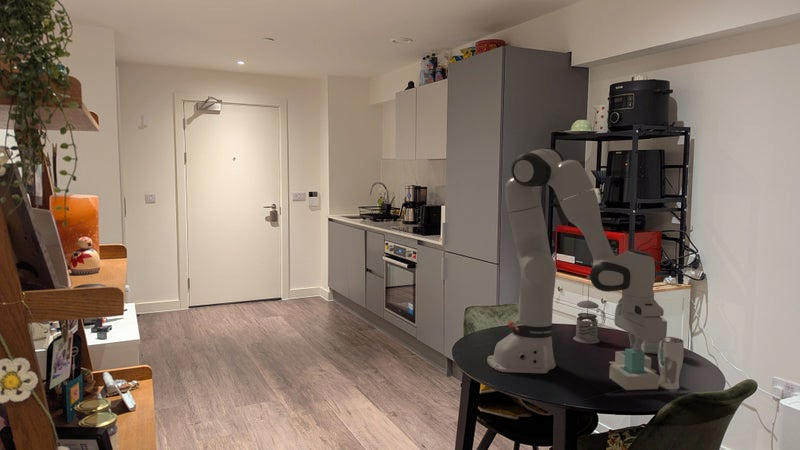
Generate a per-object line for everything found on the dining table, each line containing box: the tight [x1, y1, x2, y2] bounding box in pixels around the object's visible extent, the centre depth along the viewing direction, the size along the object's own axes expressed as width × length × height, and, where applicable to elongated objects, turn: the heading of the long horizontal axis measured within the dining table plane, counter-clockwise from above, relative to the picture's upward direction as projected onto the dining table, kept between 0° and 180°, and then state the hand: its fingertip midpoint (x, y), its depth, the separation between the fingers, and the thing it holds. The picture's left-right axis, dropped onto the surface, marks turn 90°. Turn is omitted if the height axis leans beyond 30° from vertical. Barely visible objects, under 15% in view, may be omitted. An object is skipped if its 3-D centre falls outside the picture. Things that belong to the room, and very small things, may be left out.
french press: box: [573, 275, 606, 344], centre depth 215 cm, size 10×12×25 cm
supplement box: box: [641, 316, 668, 355], centre depth 201 cm, size 7×7×13 cm
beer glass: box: [657, 336, 685, 393], centre depth 167 cm, size 7×7×15 cm
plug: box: [624, 348, 646, 374], centre depth 168 cm, size 4×4×10 cm
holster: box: [608, 350, 658, 373], centre depth 184 cm, size 11×11×5 cm
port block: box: [608, 364, 660, 394], centre depth 169 cm, size 10×10×5 cm
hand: (635, 349), depth 168 cm, fingers closed
